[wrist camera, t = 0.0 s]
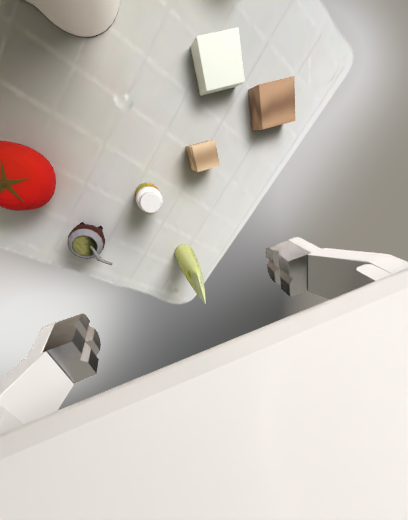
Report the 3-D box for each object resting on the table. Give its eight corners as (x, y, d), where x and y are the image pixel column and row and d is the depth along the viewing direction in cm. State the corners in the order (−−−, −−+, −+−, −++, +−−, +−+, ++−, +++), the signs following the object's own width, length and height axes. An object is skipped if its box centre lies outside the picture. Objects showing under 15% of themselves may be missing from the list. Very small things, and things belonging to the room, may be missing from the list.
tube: (168, 254, 62) (183, 295, 45) (178, 239, 60) (197, 274, 44) (186, 263, 64) (205, 305, 47) (196, 248, 63) (220, 285, 46)
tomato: (-3, 201, 46) (-35, 214, 37) (-17, 136, 42) (-57, 133, 33) (65, 206, 50) (50, 219, 41) (59, 147, 45) (41, 147, 36)
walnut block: (248, 89, 50) (259, 84, 46) (280, 82, 51) (294, 76, 47) (252, 130, 54) (262, 129, 50) (282, 122, 55) (295, 120, 51)
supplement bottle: (144, 177, 52) (147, 182, 43) (163, 192, 54) (169, 200, 46) (130, 196, 53) (130, 205, 44) (150, 210, 55) (154, 221, 47)
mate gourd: (66, 229, 52) (45, 256, 39) (96, 211, 52) (85, 232, 39) (89, 254, 56) (76, 286, 43) (117, 237, 56) (113, 264, 43)
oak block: (185, 146, 52) (191, 146, 46) (206, 140, 52) (214, 140, 47) (191, 169, 54) (197, 172, 49) (211, 164, 55) (219, 165, 50)
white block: (190, 46, 44) (196, 36, 40) (228, 38, 46) (238, 27, 41) (200, 96, 48) (206, 91, 44) (234, 87, 49) (244, 81, 45)
